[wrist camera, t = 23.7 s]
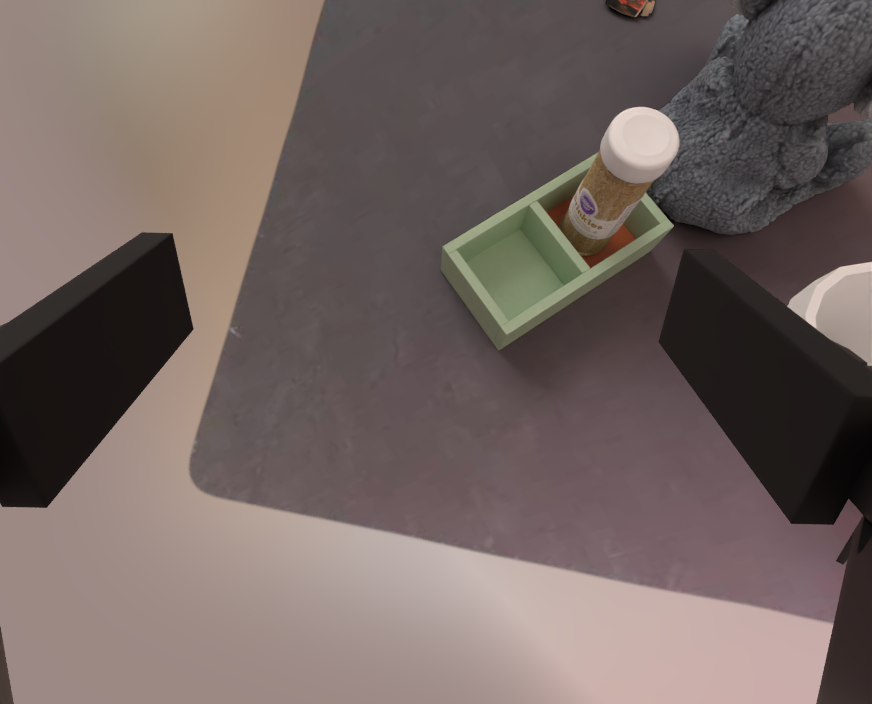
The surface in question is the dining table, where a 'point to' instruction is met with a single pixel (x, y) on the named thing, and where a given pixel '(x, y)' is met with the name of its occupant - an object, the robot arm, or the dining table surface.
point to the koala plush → (771, 115)
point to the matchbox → (632, 6)
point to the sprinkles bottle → (619, 177)
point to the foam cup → (841, 307)
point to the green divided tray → (539, 258)
